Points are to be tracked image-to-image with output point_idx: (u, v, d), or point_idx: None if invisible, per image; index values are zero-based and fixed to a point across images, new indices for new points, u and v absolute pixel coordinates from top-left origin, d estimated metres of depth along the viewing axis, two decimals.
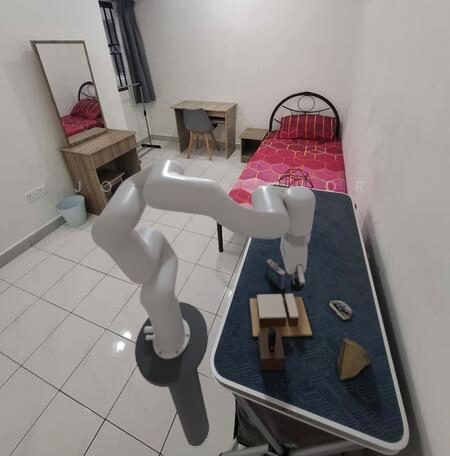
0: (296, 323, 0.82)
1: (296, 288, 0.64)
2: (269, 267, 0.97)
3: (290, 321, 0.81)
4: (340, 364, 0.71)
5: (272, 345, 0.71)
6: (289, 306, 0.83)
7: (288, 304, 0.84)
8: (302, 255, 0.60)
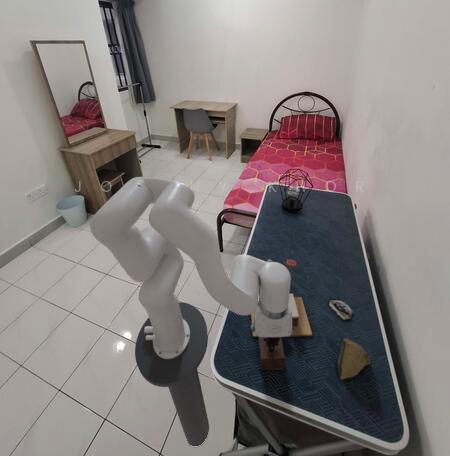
0: (296, 323, 0.82)
1: None
2: None
3: None
4: (340, 364, 0.71)
5: (272, 345, 0.71)
6: None
7: None
8: None
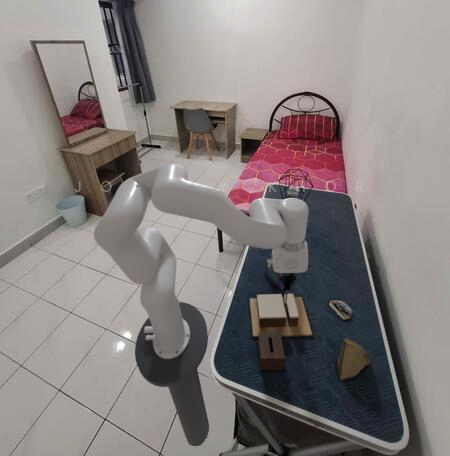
0: (296, 323, 0.82)
1: None
2: None
3: (290, 321, 0.81)
4: (340, 364, 0.71)
5: (287, 288, 0.76)
6: (289, 306, 0.83)
7: (288, 304, 0.84)
8: None
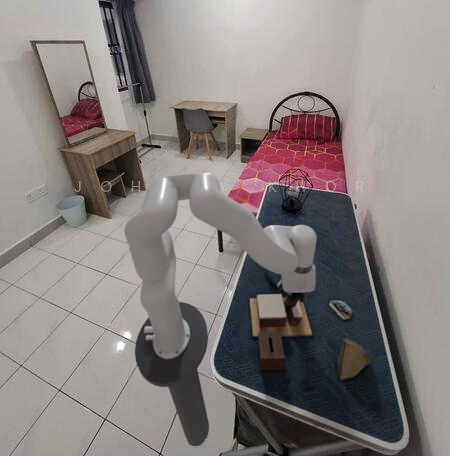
0: (297, 323, 0.82)
1: None
2: None
3: (293, 320, 0.81)
4: (340, 364, 0.71)
5: (293, 305, 0.82)
6: None
7: None
8: None
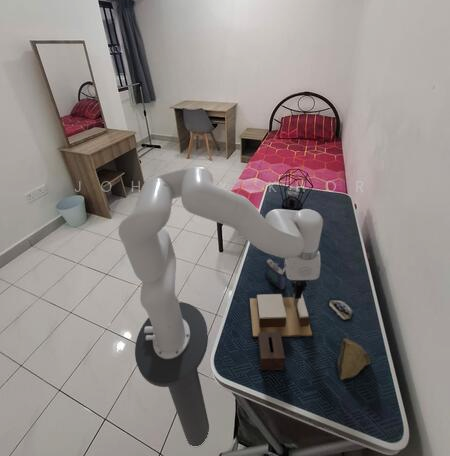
0: (307, 323, 0.82)
1: None
2: (269, 267, 0.97)
3: (300, 321, 0.81)
4: (340, 364, 0.71)
5: (298, 296, 0.80)
6: (298, 306, 0.83)
7: None
8: None
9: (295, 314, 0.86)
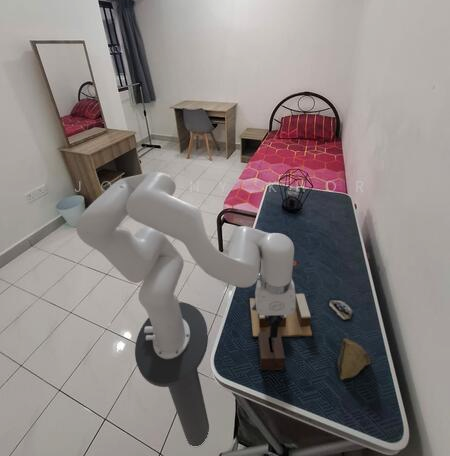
0: (308, 323, 0.82)
1: None
2: None
3: (302, 321, 0.81)
4: (340, 364, 0.71)
5: (274, 335, 0.68)
6: (300, 306, 0.83)
7: (299, 304, 0.84)
8: None
9: (295, 314, 0.86)
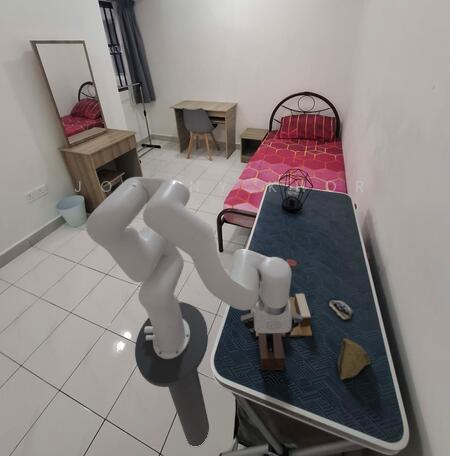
0: (308, 323, 0.82)
1: None
2: None
3: (302, 321, 0.81)
4: (340, 364, 0.71)
5: (271, 346, 0.71)
6: (300, 306, 0.83)
7: (299, 304, 0.84)
8: None
9: None
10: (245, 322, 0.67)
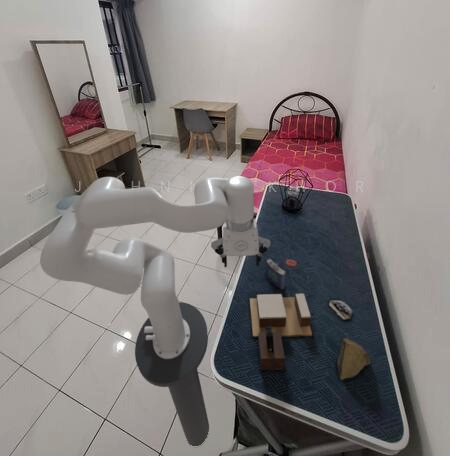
0: (308, 323, 0.82)
1: (260, 258, 0.71)
2: (269, 267, 0.97)
3: (302, 321, 0.81)
4: (340, 364, 0.71)
5: (271, 346, 0.71)
6: (300, 306, 0.83)
7: (299, 304, 0.84)
8: None
9: (295, 314, 0.86)
10: (215, 247, 0.69)
